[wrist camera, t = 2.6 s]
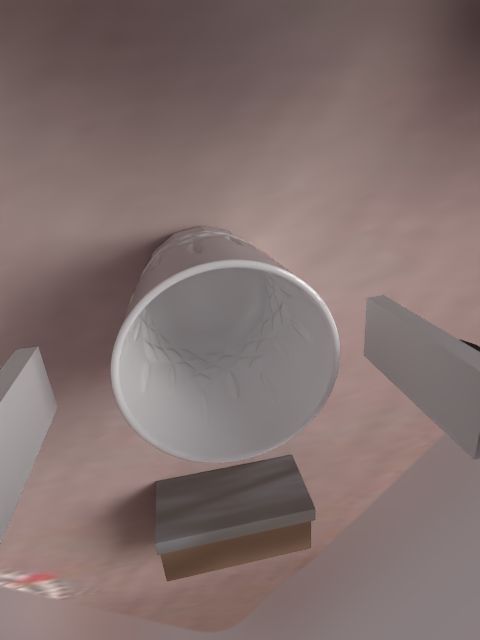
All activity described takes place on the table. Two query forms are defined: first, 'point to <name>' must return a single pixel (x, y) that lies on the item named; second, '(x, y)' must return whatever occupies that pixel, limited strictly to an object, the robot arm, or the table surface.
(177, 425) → the white cup
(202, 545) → the block
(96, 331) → the table surface
